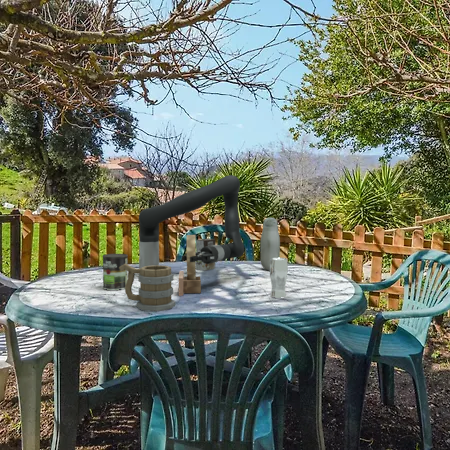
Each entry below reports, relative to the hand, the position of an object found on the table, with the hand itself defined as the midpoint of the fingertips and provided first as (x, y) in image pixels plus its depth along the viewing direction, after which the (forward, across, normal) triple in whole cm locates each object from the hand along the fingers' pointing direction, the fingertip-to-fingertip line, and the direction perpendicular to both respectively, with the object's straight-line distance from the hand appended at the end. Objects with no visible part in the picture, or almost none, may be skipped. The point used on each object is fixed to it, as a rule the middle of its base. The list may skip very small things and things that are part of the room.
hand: (186, 259), depth 171 cm
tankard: (+24, +2, +14) cm, 28 cm away
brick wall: (0, -3, +14) cm, 14 cm away
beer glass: (-15, +34, +14) cm, 40 cm away
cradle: (-3, 0, +14) cm, 14 cm away
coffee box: (-48, -27, +14) cm, 57 cm away
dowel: (-3, 0, +12) cm, 13 cm away
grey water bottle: (-66, +2, +14) cm, 67 cm away
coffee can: (+12, -30, +14) cm, 35 cm away
